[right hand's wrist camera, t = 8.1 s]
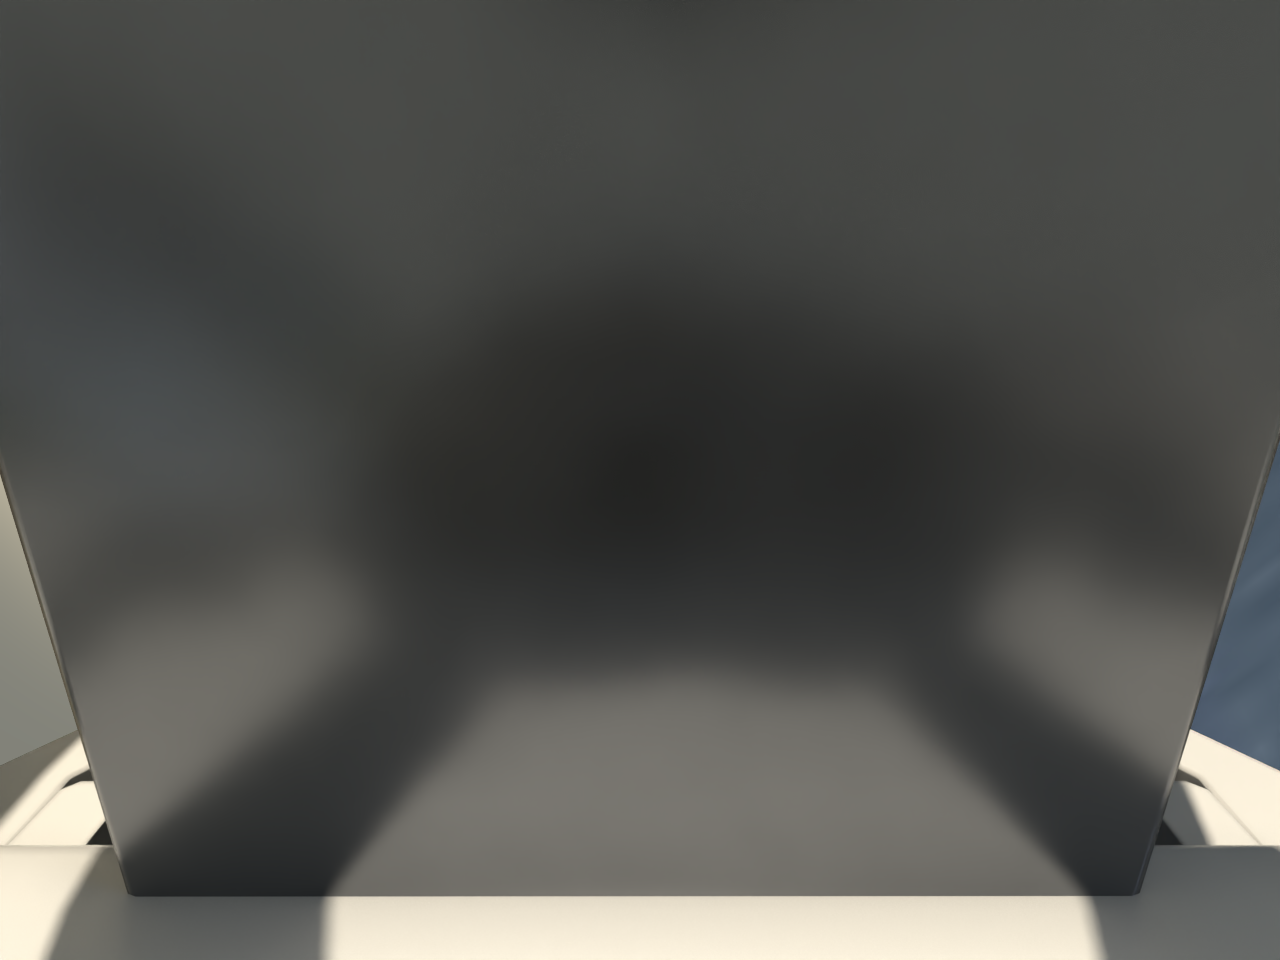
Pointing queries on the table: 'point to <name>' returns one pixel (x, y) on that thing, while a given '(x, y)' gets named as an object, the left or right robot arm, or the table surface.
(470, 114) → the bar
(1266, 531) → the table surface
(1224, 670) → the table surface
